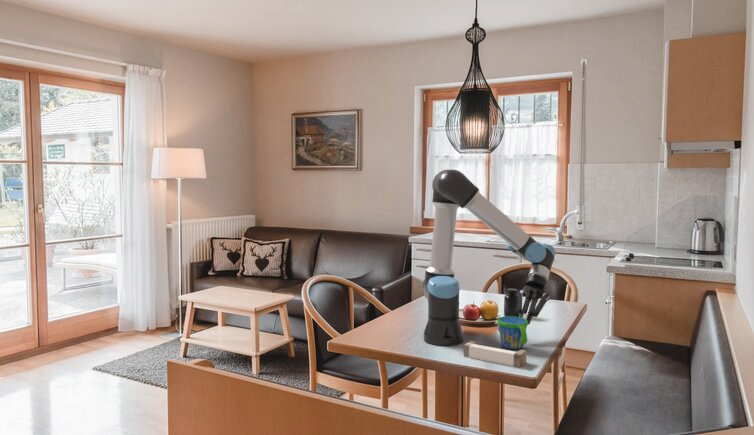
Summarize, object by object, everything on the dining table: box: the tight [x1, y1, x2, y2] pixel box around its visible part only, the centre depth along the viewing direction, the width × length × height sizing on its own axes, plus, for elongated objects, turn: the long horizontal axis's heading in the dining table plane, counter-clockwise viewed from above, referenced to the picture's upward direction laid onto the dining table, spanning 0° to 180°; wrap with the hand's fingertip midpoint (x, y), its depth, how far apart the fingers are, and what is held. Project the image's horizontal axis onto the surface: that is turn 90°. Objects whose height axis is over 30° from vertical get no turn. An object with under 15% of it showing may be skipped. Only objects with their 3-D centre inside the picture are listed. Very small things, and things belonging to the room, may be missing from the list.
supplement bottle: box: [503, 288, 521, 317], centre depth 243 cm, size 7×7×12 cm
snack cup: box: [496, 316, 529, 351], centre depth 199 cm, size 16×10×10 cm
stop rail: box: [463, 340, 527, 369], centre depth 186 cm, size 20×6×4 cm, turn 54°
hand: (522, 330), depth 204 cm, fingers closed
